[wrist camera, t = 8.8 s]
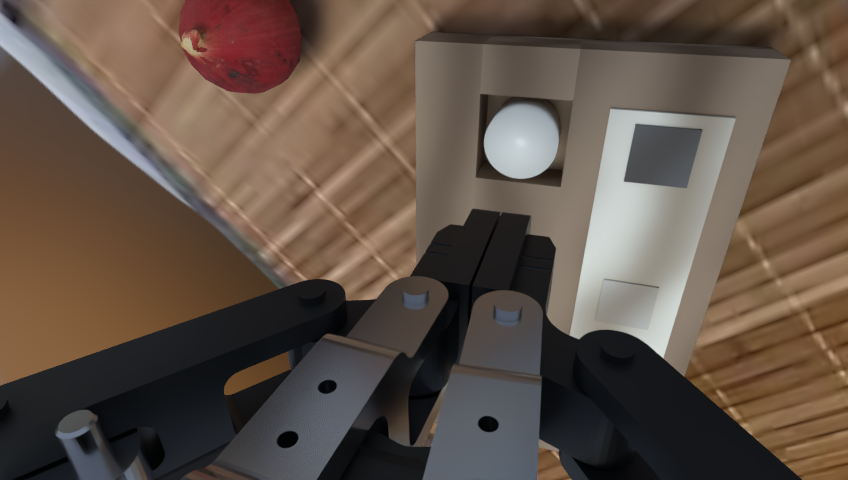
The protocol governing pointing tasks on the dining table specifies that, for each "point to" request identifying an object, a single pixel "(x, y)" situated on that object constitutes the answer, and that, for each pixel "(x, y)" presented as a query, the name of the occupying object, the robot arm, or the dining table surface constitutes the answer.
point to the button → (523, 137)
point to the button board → (603, 167)
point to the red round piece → (241, 42)
